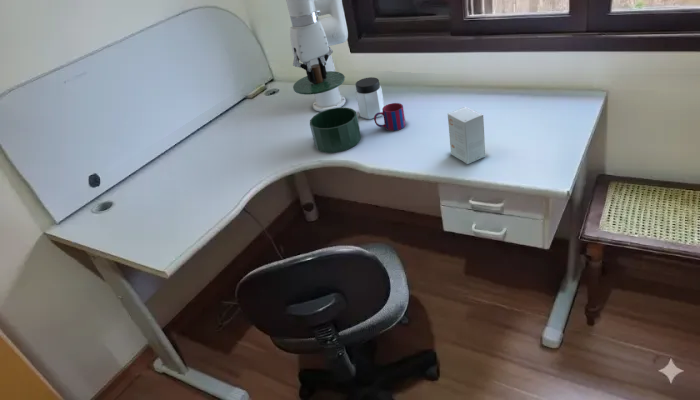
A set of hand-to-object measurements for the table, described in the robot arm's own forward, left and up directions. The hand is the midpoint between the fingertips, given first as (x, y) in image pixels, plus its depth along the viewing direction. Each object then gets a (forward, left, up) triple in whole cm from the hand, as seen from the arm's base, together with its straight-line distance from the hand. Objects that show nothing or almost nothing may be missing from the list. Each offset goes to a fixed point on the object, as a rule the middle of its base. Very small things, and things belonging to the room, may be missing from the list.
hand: (318, 79), depth 157 cm
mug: (+6, +19, -22) cm, 30 cm away
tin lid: (0, 0, -1) cm, 1 cm away
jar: (-8, +21, -22) cm, 32 cm away
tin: (0, +2, -22) cm, 22 cm away
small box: (+39, +23, -22) cm, 51 cm away
